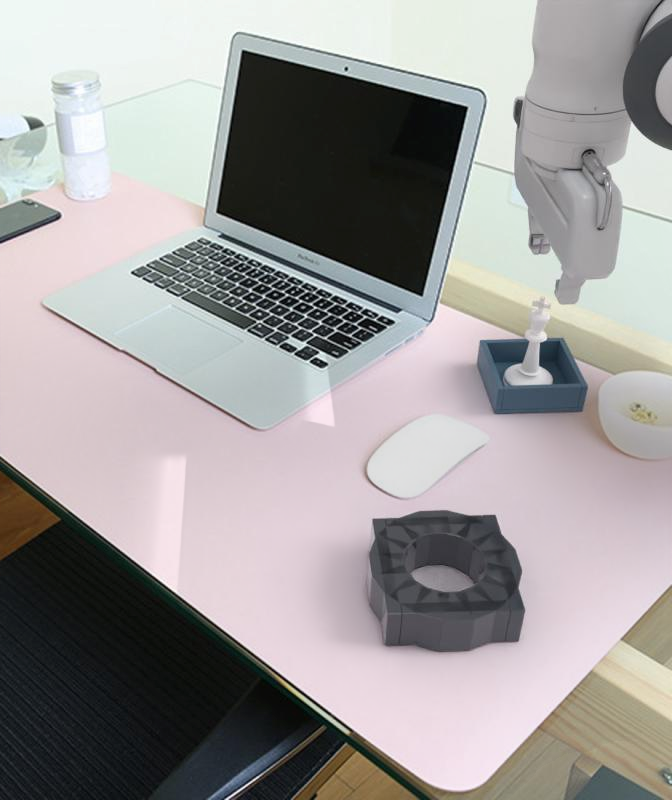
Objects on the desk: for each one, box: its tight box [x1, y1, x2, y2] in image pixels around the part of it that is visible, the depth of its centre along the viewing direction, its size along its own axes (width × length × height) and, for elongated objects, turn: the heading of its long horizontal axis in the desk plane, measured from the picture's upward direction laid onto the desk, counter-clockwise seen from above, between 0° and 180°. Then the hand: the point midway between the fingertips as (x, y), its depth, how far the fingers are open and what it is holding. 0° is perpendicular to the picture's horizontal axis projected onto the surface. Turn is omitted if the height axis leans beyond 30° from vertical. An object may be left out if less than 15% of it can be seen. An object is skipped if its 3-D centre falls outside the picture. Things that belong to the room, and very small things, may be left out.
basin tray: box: [476, 337, 589, 415], centre depth 96 cm, size 9×9×3 cm
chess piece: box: [503, 295, 553, 386], centre depth 93 cm, size 5×5×10 cm
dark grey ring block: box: [366, 509, 526, 653], centre depth 74 cm, size 11×11×4 cm
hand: (551, 274), depth 89 cm, fingers open, 8 cm apart
